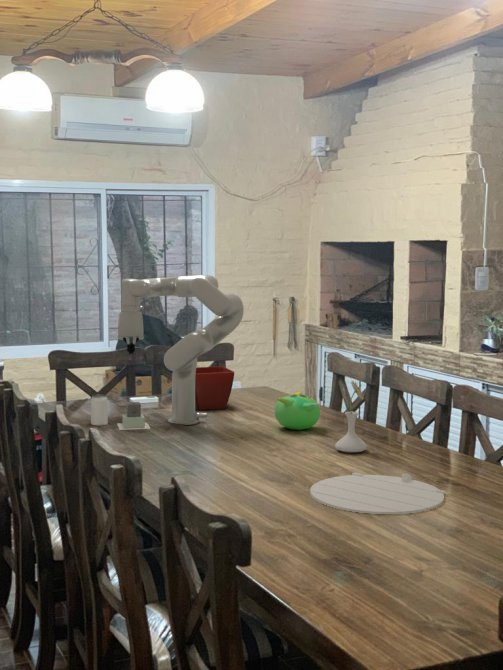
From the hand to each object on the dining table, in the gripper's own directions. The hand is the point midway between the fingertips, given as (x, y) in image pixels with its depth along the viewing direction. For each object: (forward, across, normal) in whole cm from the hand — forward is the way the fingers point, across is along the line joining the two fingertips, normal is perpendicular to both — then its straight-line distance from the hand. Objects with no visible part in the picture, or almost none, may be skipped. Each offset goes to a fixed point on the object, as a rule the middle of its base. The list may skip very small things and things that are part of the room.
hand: (130, 353), depth 372 cm
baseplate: (+27, +1, +19) cm, 33 cm away
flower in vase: (+27, -71, +71) cm, 104 cm away
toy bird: (+27, -62, +33) cm, 75 cm away
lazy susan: (+28, -60, +125) cm, 141 cm away
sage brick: (+26, +1, +19) cm, 32 cm away
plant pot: (+27, -36, -19) cm, 49 cm away
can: (+27, +14, +12) cm, 33 cm away
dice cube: (+22, +1, +18) cm, 29 cm away
